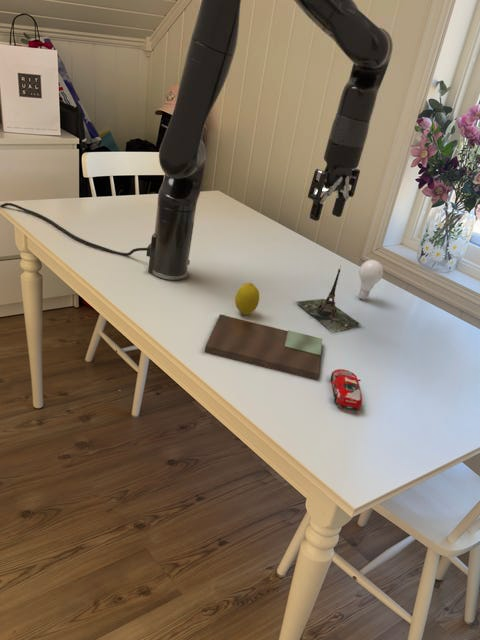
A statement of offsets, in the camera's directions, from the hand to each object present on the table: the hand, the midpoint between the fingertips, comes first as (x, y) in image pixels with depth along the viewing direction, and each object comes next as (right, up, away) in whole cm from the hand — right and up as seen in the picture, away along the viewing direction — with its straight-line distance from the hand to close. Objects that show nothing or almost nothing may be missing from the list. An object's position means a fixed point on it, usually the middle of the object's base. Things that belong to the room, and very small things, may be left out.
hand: (325, 217), depth 134 cm
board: (-14, -30, -3) cm, 33 cm away
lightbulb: (+14, -12, +30) cm, 35 cm away
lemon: (-18, -20, +8) cm, 28 cm away
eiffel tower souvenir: (+3, -19, +17) cm, 26 cm away
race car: (+2, -40, -12) cm, 42 cm away
